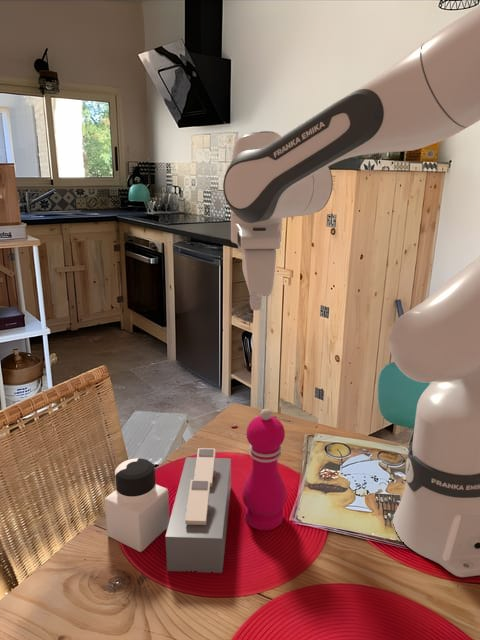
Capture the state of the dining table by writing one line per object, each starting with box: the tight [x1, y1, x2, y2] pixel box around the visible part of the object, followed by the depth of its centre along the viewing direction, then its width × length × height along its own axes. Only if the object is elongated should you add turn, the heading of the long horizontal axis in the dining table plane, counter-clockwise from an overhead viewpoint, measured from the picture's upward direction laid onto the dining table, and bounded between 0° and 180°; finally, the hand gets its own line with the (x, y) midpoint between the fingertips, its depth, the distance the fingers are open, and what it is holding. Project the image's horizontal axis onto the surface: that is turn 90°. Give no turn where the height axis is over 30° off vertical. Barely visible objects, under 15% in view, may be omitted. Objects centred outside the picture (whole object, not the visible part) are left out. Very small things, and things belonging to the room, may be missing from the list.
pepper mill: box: [242, 408, 287, 531], centre depth 80 cm, size 7×7×20 cm
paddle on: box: [185, 480, 210, 525], centre depth 75 cm, size 3×7×1 cm, turn 177°
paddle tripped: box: [194, 447, 216, 487], centre depth 83 cm, size 3×7×1 cm, turn 178°
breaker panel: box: [164, 456, 232, 574], centre depth 80 cm, size 8×20×7 cm, turn 178°
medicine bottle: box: [104, 457, 170, 553], centre depth 78 cm, size 7×7×12 cm
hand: (255, 308), depth 91 cm, fingers closed
